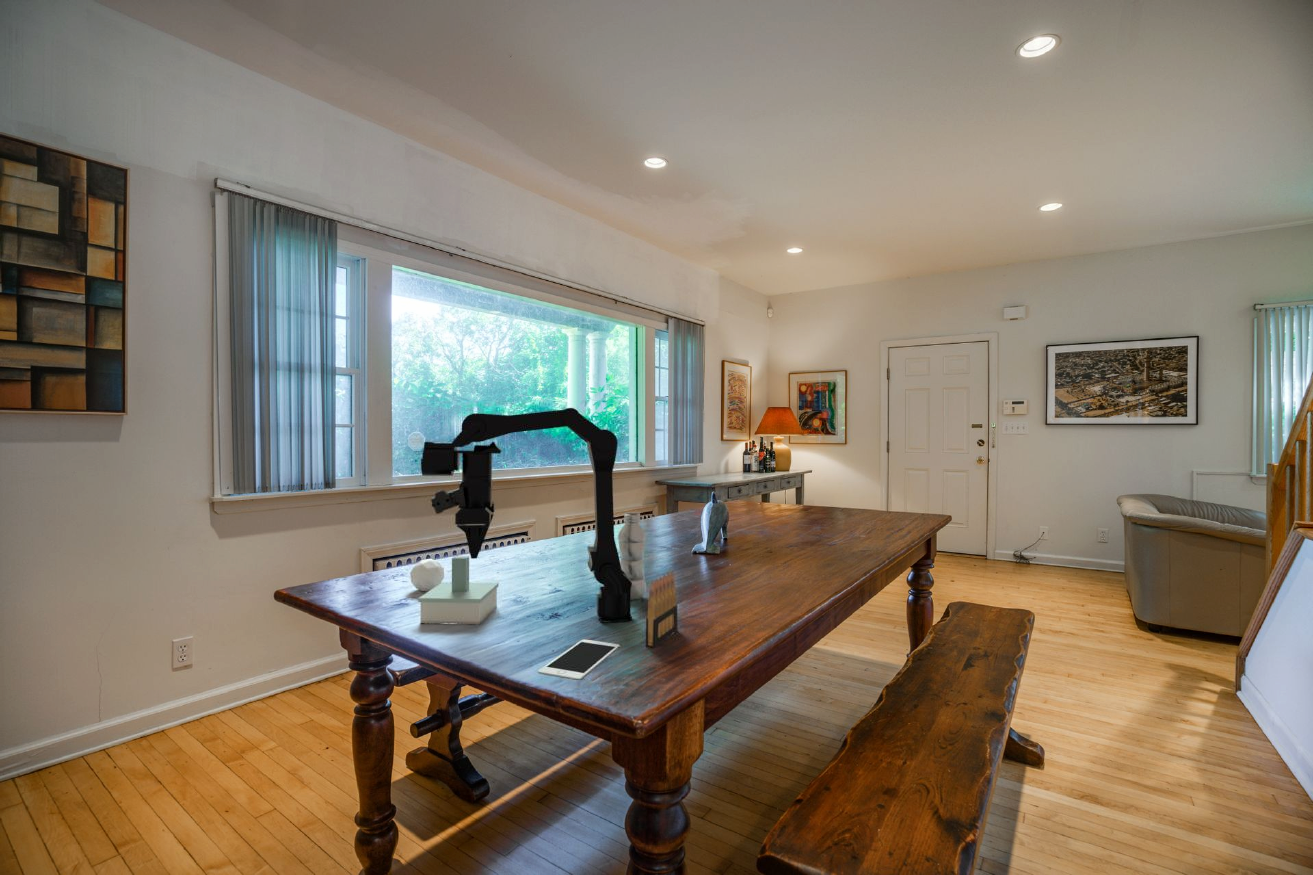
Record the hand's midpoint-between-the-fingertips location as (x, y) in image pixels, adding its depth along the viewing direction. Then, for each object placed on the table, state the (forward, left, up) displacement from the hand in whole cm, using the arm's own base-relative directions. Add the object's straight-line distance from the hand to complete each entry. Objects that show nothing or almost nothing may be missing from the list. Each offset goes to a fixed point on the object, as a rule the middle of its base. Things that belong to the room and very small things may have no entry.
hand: (476, 553), depth 118 cm
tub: (+4, -8, -15) cm, 17 cm away
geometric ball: (+14, -30, -15) cm, 36 cm away
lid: (+4, -8, -11) cm, 14 cm away
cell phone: (-19, +21, -15) cm, 32 cm away
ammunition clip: (-35, +14, -15) cm, 41 cm away
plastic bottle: (-34, -13, -15) cm, 39 cm away
